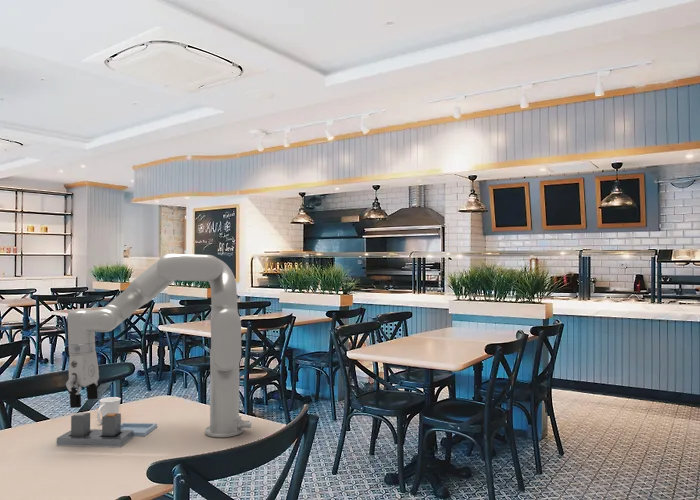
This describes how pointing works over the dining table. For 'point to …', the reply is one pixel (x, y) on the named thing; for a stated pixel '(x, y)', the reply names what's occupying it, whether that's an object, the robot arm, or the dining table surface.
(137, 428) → the tray
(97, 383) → the robot arm
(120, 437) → the grey socket
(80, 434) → the plug
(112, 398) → the cup
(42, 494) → the dining table surface
